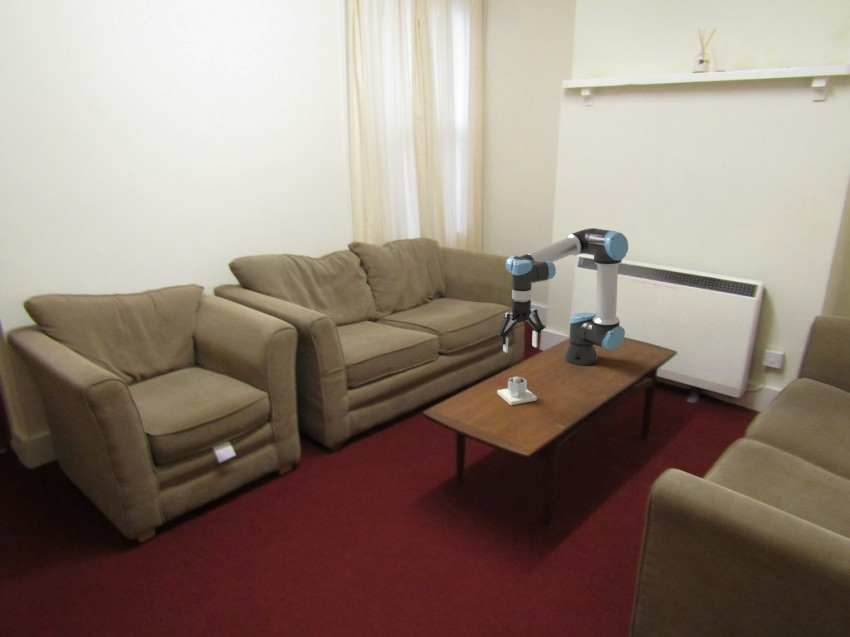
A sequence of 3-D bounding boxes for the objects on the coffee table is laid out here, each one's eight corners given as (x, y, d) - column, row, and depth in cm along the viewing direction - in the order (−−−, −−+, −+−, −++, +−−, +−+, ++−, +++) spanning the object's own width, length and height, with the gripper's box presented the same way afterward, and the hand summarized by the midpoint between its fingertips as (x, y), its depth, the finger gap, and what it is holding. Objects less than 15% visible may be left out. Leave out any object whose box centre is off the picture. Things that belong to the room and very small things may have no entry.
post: (522, 388, 244) (522, 370, 241) (536, 400, 233) (537, 381, 230) (497, 393, 240) (497, 375, 237) (510, 405, 229) (511, 386, 227)
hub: (520, 388, 240) (520, 375, 239) (528, 395, 234) (529, 382, 232) (505, 391, 238) (505, 378, 236) (513, 398, 232) (513, 385, 230)
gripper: (543, 293, 232) (541, 341, 239) (489, 300, 224) (488, 350, 231) (553, 297, 226) (551, 347, 232) (497, 305, 217) (497, 356, 224)
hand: (520, 349), depth 232 cm, fingers open, 13 cm apart
